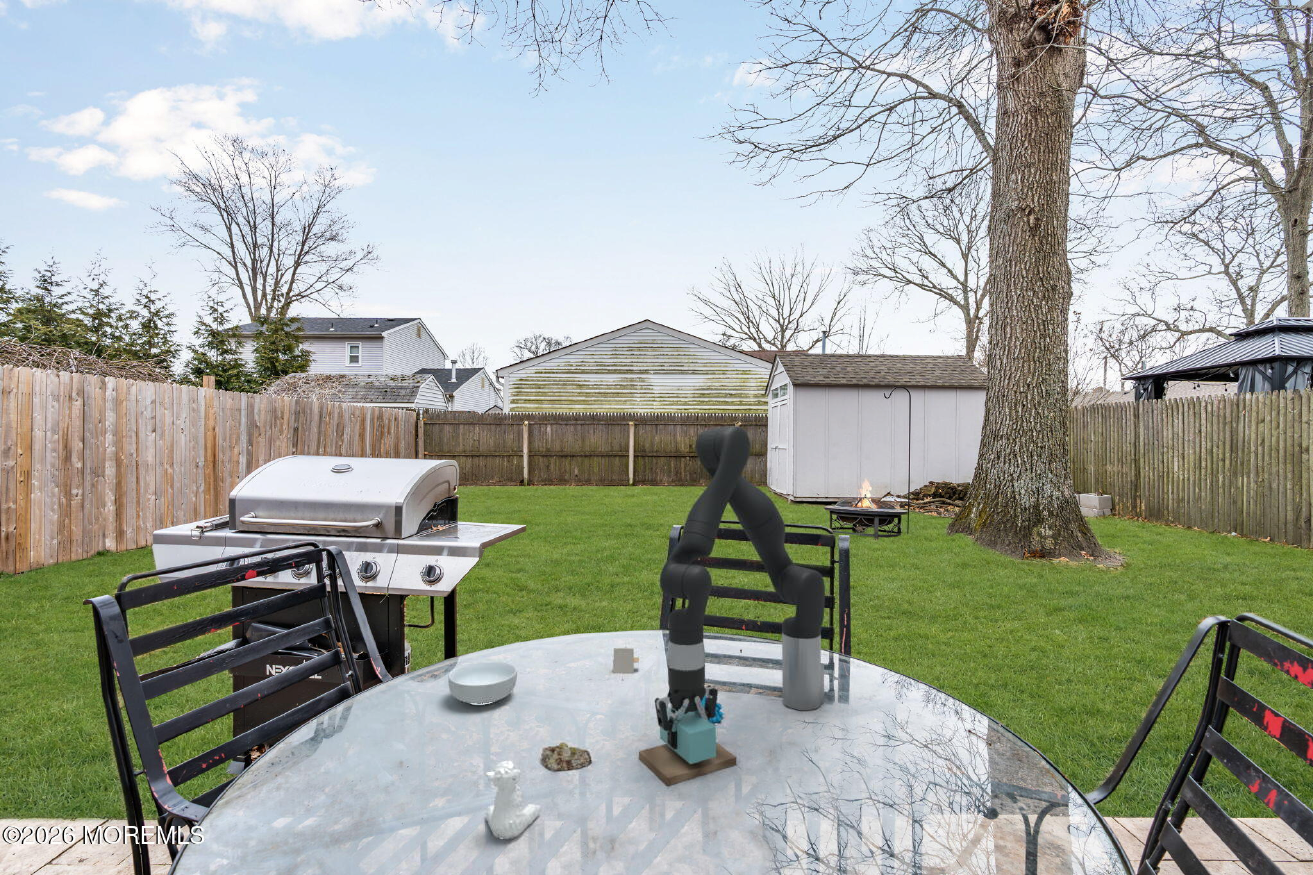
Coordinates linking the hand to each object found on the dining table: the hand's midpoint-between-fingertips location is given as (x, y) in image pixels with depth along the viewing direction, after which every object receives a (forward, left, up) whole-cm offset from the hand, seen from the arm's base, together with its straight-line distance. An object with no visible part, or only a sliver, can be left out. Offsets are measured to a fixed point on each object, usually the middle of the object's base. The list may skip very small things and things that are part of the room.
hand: (687, 743), depth 137 cm
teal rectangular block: (0, 0, -1) cm, 1 cm away
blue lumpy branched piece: (-14, -15, -4) cm, 21 cm away
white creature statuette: (+38, +4, -4) cm, 38 cm away
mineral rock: (+22, -12, -4) cm, 25 cm away
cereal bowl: (+28, -52, -4) cm, 59 cm away
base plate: (0, 0, -4) cm, 4 cm away
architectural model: (-10, -50, -4) cm, 51 cm away
